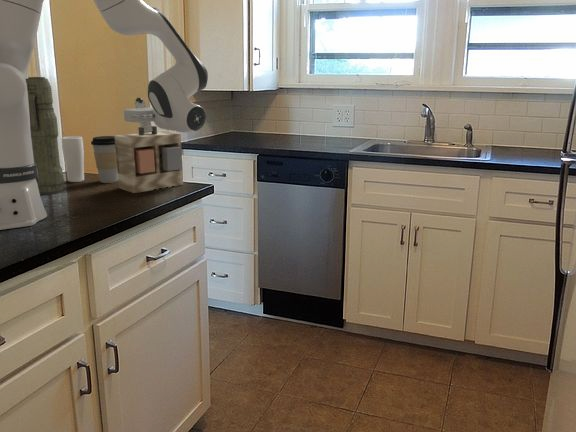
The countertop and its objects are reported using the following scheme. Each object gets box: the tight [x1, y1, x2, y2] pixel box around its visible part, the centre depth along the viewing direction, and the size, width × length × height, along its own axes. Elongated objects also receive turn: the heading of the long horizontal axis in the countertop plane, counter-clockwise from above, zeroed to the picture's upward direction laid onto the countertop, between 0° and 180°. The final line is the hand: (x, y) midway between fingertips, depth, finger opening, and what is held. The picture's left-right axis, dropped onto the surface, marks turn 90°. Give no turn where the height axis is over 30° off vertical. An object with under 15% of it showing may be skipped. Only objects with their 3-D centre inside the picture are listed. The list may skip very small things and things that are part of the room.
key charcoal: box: [160, 146, 183, 171], centre depth 182 cm, size 5×7×7 cm
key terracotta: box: [134, 149, 155, 174], centre depth 178 cm, size 5×7×7 cm
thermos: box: [26, 76, 65, 195], centre depth 174 cm, size 9×12×35 cm
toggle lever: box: [133, 97, 153, 133], centre depth 181 cm, size 3×2×12 cm
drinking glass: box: [61, 135, 85, 183], centre depth 192 cm, size 7×7×15 cm
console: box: [114, 125, 184, 194], centre depth 182 cm, size 18×10×19 cm, turn 133°
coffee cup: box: [90, 135, 118, 184], centre depth 192 cm, size 9×9×15 cm
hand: (145, 112), depth 180 cm, fingers closed, pressing on toggle lever
